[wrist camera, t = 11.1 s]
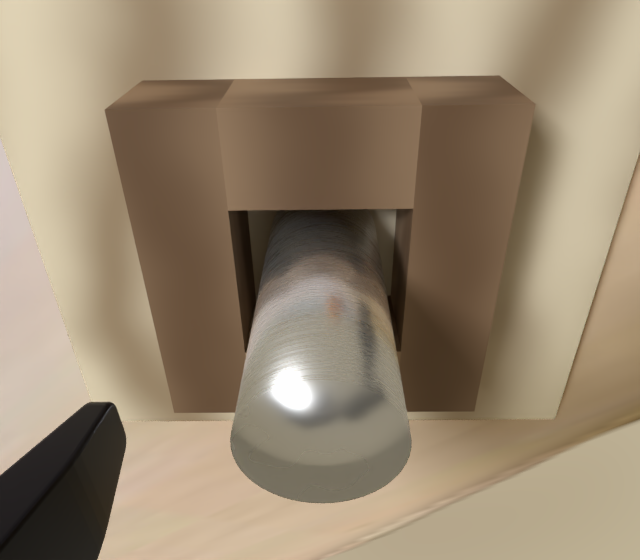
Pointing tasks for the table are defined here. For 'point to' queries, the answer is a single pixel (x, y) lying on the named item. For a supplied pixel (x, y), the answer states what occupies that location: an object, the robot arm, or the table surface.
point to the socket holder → (322, 180)
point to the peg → (321, 365)
